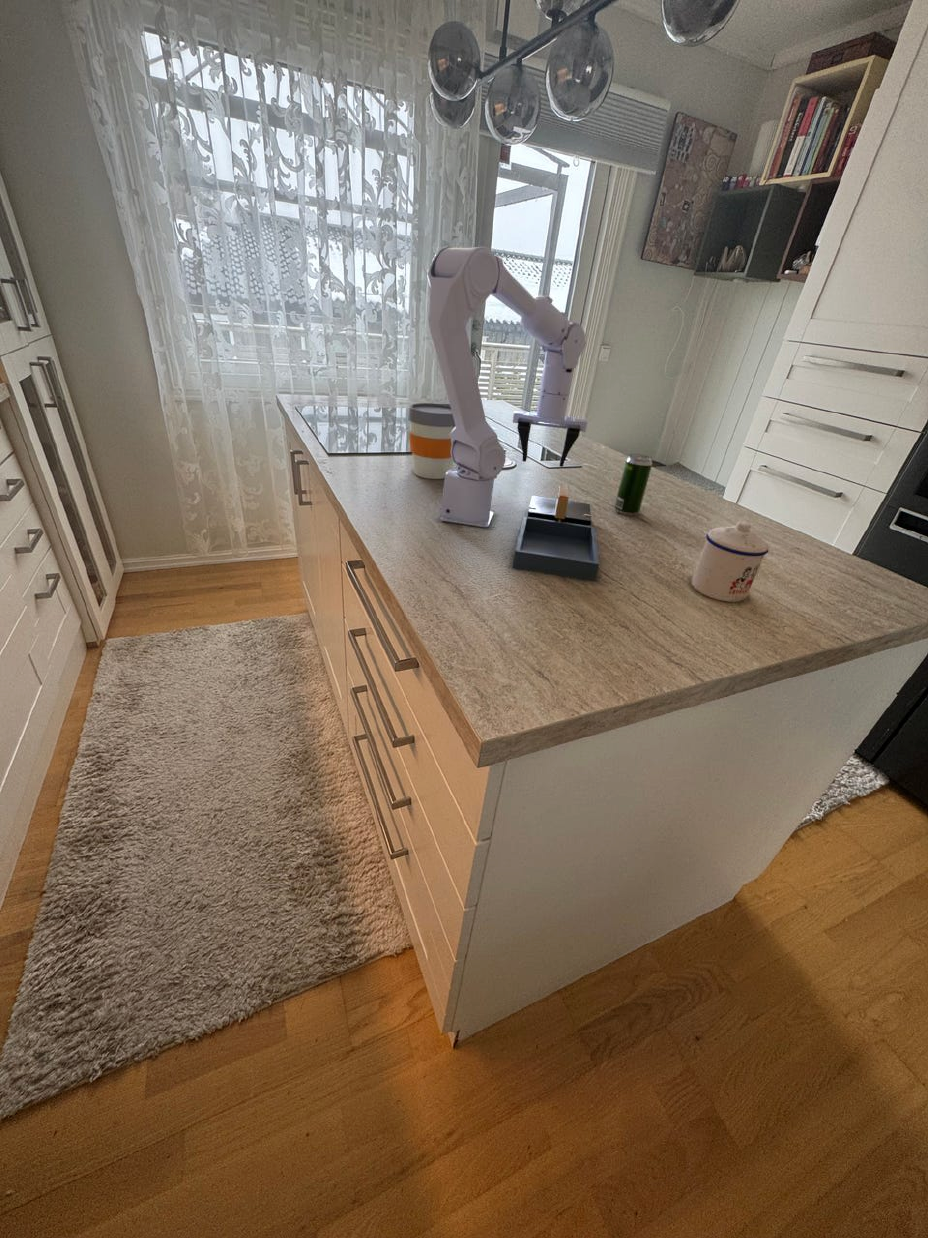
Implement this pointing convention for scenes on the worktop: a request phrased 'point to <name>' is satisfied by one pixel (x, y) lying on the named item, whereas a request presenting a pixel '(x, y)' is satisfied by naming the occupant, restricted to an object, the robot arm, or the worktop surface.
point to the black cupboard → (547, 507)
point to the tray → (557, 548)
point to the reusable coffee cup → (431, 439)
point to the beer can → (633, 484)
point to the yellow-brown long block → (562, 502)
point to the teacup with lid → (729, 562)
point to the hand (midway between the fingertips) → (542, 462)
